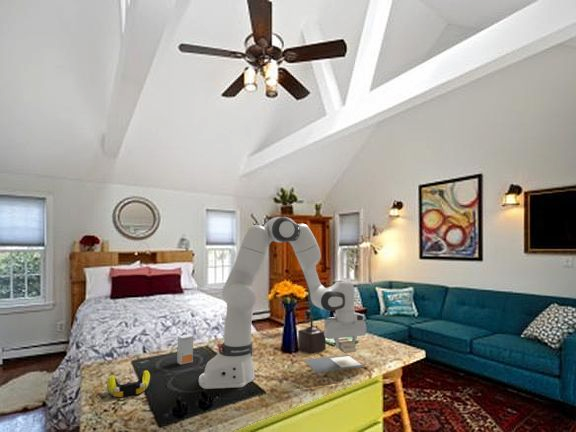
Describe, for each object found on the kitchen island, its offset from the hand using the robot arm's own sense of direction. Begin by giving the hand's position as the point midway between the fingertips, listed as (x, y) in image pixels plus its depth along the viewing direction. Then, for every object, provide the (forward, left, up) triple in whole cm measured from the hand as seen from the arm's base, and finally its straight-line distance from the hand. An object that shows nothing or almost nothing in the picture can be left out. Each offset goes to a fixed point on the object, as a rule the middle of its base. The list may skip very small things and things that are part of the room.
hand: (345, 346), depth 161 cm
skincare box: (-70, +23, -7) cm, 74 cm away
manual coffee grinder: (-8, +25, -8) cm, 27 cm away
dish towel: (+12, +36, -8) cm, 39 cm away
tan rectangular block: (0, 0, -1) cm, 1 cm away
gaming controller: (-91, -2, -8) cm, 91 cm away
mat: (-6, 0, -7) cm, 9 cm away
